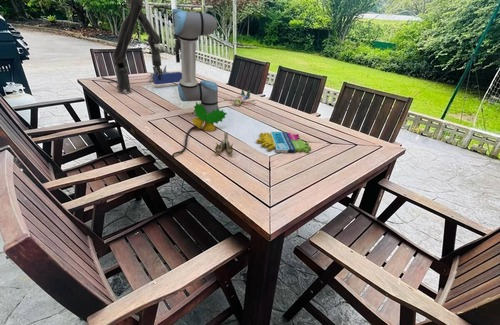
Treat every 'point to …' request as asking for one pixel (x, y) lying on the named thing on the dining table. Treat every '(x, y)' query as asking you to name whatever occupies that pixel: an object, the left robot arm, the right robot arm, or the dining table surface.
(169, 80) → the bar
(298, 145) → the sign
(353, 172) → the dining table surface
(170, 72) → the airplane
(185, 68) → the right robot arm
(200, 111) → the ornament
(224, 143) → the jawbone
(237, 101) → the toy
